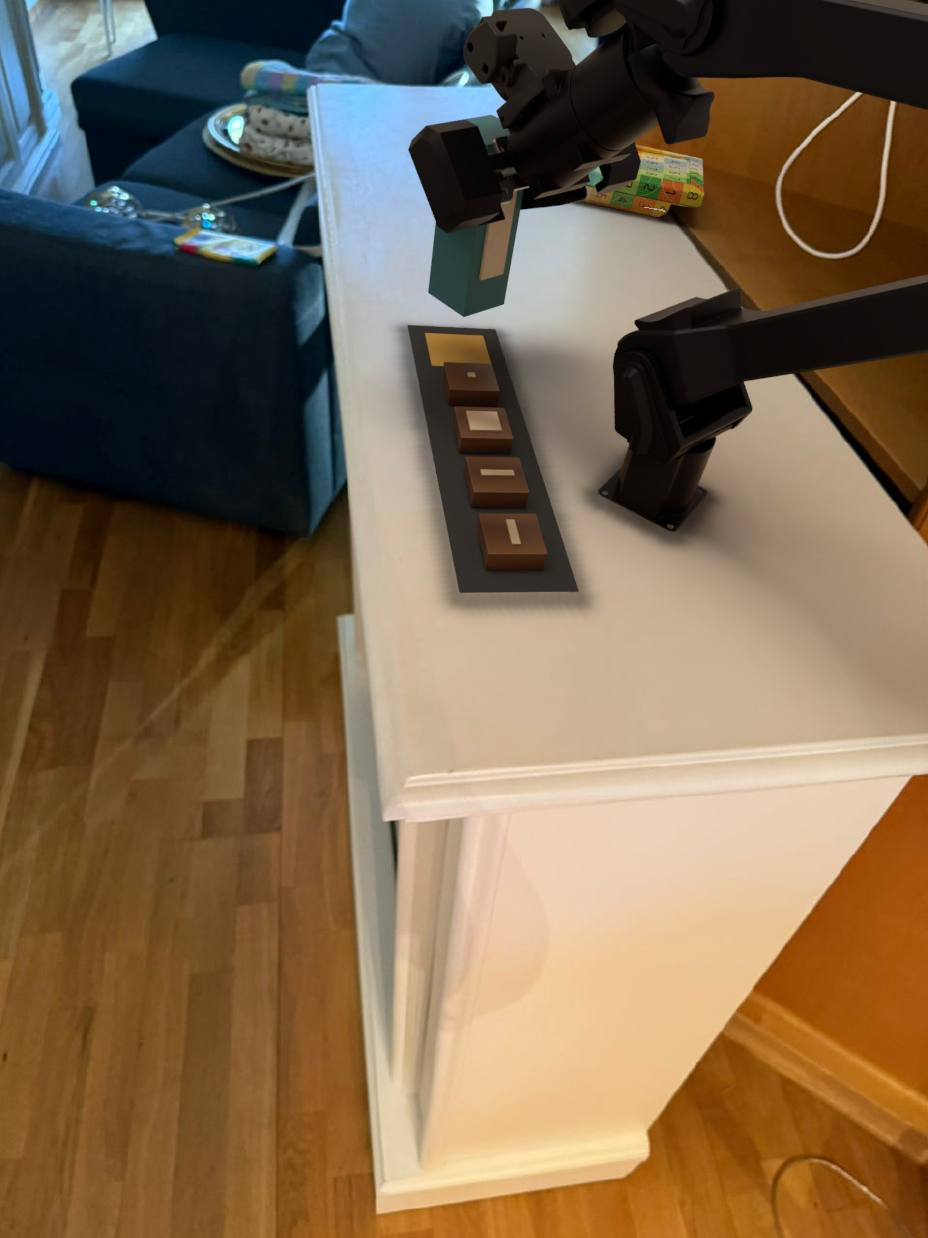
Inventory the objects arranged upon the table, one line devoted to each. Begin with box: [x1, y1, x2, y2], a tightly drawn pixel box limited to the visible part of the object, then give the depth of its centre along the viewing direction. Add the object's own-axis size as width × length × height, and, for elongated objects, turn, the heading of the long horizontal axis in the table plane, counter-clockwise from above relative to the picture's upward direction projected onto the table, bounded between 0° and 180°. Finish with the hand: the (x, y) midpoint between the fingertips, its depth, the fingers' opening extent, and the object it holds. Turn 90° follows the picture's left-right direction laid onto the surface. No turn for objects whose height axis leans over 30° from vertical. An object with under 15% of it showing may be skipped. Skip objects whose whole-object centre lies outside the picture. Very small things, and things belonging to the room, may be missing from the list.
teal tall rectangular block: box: [427, 114, 524, 318], centre depth 69 cm, size 5×4×13 cm
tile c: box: [452, 406, 513, 454], centre depth 69 cm, size 4×4×2 cm
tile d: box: [442, 362, 500, 407], centre depth 73 cm, size 4×4×2 cm
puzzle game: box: [580, 143, 706, 218], centre depth 106 cm, size 12×5×20 cm
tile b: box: [463, 457, 529, 508], centre depth 64 cm, size 4×4×2 cm
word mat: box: [407, 324, 579, 594], centre depth 69 cm, size 33×8×1 cm, turn 8°
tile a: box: [476, 513, 548, 570], centre depth 60 cm, size 4×4×2 cm
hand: (465, 211), depth 70 cm, fingers closed on teal tall rectangular block, 4 cm apart
